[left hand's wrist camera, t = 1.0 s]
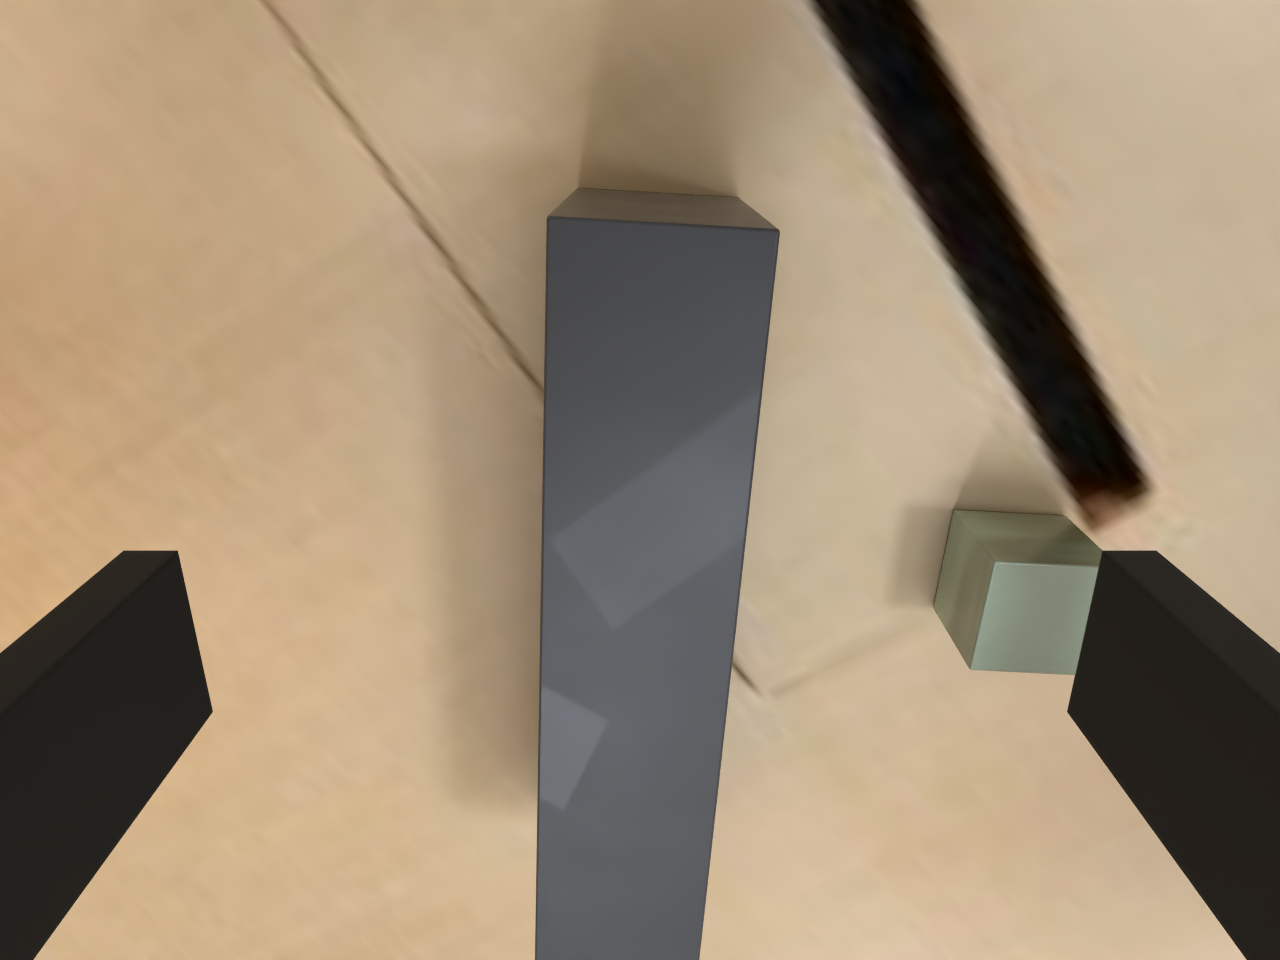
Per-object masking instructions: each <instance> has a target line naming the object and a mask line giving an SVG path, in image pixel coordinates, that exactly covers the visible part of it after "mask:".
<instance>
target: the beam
mask: <svg viewBox="0 0 1280 960" xmlns="http://www.w3.org/2000/svg"><path fill="white" fill-rule="evenodd" d="M779 235H780V231H779V230H778V229H777V228H776V227H775V226H773V225H772V224H771V223H770V222H768V221H767V220H766V219H765V218H763V217H762V216H761V215H760V214H758V213H757V212H756V211H755V210H753V209H752V208H751V207H750V206H748V205H747V204H746V203H745V202H743V201H742V200H741V199H739V198H738V197H725V196H708V195H691V194H674V193H657V192H640V191H623V190H606V189H589V188H578V189H576V190H575V191H574V192H573V193H572V194H571V195H570V196H569V197H568V198H567V199H566V200H565V201H564V202H563V203H562V204H561V205H560V206H558V207H557V208H556V209H555V210H554V211H553V212H552V213H551V214H550V215H549V216H548V217H547V237H546V301H545V364H544V427H543V490H542V553H541V617H540V680H539V743H538V806H537V869H536V932H535V960H699V957H700V948H701V939H702V930H703V921H704V912H705V903H706V894H707V885H708V876H709V866H710V857H711V848H712V839H713V830H714V821H715V812H716V803H717V794H718V785H719V776H720V767H721V758H722V749H723V740H724V731H725V722H726V713H727V704H728V695H729V686H730V677H731V668H732V659H733V650H734V641H735V632H736V623H737V614H738V605H739V596H740V587H741V578H742V569H743V560H744V551H745V542H746V533H747V524H748V515H749V506H750V497H751V488H752V479H753V470H754V461H755V452H756V443H757V434H758V424H759V415H760V406H761V397H762V388H763V379H764V370H765V361H766V352H767V343H768V334H769V325H770V316H771V307H772V298H773V289H774V280H775V271H776V262H777V253H778V244H779Z"/></svg>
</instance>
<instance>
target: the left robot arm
mask: <svg viewBox="0 0 1280 960" xmlns="http://www.w3.org/2000/svg"><path fill="white" fill-rule="evenodd" d="M212 712H213V711H212V706H211V701H210V697H209V692H208V688H207V683H206V678H205V674H204V669H203V665H202V660H201V656H200V651H199V646H198V642H197V637H196V633H195V628H194V623H193V619H192V614H191V610H190V605H189V600H188V596H187V591H186V587H185V582H184V577H183V573H182V568H181V564H180V559H179V555H178V551H123V552H122V553H120V554H119V555H118V556H117V557H116V558H114V559H113V560H112V561H111V562H110V563H108V564H107V565H106V566H105V567H104V568H102V569H101V570H100V571H99V572H98V573H96V574H95V575H94V576H93V577H92V578H90V579H89V580H88V581H87V582H86V583H84V584H83V585H82V586H81V587H79V588H78V589H77V590H76V591H75V592H73V593H72V594H71V595H70V596H69V597H67V598H66V599H65V600H64V601H63V602H61V603H60V604H59V605H58V606H57V607H55V608H54V609H53V610H52V611H51V612H49V613H48V614H47V615H46V616H45V617H43V618H42V619H41V620H40V621H39V622H37V623H36V624H35V625H34V626H33V627H31V628H30V629H29V630H28V631H27V632H25V633H24V634H23V635H22V636H21V637H19V638H18V639H17V640H16V641H15V642H13V643H12V644H11V645H10V646H9V647H7V648H6V649H5V650H4V651H2V652H1V653H0V960H33V959H34V958H35V957H36V955H37V954H38V952H39V951H40V950H41V948H42V947H43V946H44V944H45V943H46V941H47V940H48V939H49V937H50V936H51V935H52V933H53V932H54V930H55V929H56V928H57V926H58V925H59V923H60V922H61V921H62V919H63V918H64V917H65V915H66V914H67V912H68V911H69V910H70V908H71V907H72V906H73V904H74V903H75V901H76V900H77V899H78V897H79V896H80V894H81V893H82V892H83V890H84V889H85V888H86V886H87V885H88V883H89V882H90V881H91V879H92V878H93V877H94V875H95V874H96V872H97V871H98V870H99V868H100V867H101V865H102V864H103V863H104V861H105V860H106V859H107V857H108V856H109V854H110V853H111V852H112V850H113V849H114V848H115V846H116V845H117V843H118V842H119V841H120V839H121V838H122V836H123V835H124V834H125V832H126V831H127V830H128V828H129V827H130V825H131V824H132V823H133V821H134V820H135V819H136V817H137V816H138V814H139V813H140V812H141V810H142V809H143V807H144V806H145V805H146V803H147V802H148V801H149V799H150V798H151V796H152V795H153V794H154V792H155V791H156V790H157V788H158V787H159V785H160V784H161V783H162V781H163V780H164V778H165V777H166V776H167V774H168V773H169V772H170V770H171V769H172V767H173V766H174V765H175V763H176V762H177V760H178V759H179V758H180V756H181V755H182V754H183V752H184V751H185V749H186V748H187V747H188V745H189V744H190V743H191V741H192V740H193V738H194V737H195V736H196V734H197V733H198V731H199V730H200V729H201V727H202V726H203V725H204V723H205V722H206V720H207V719H208V718H209V716H210V715H211V714H212ZM1067 712H1068V714H1069V715H1070V716H1071V718H1072V719H1073V720H1074V722H1075V723H1076V725H1077V726H1078V727H1079V729H1080V730H1081V731H1082V733H1083V734H1084V736H1085V737H1086V738H1087V740H1088V741H1089V743H1090V744H1091V745H1092V747H1093V748H1094V749H1095V751H1096V752H1097V754H1098V755H1099V756H1100V758H1101V759H1102V760H1103V762H1104V763H1105V765H1106V766H1107V767H1108V769H1109V770H1110V772H1111V773H1112V774H1113V776H1114V777H1115V778H1116V780H1117V781H1118V783H1119V784H1120V785H1121V787H1122V788H1123V790H1124V791H1125V792H1126V794H1127V795H1128V796H1129V798H1130V799H1131V801H1132V802H1133V803H1134V805H1135V806H1136V807H1137V809H1138V810H1139V812H1140V813H1141V814H1142V816H1143V817H1144V819H1145V820H1146V821H1147V823H1148V824H1149V825H1150V827H1151V828H1152V830H1153V831H1154V832H1155V834H1156V835H1157V836H1158V838H1159V839H1160V841H1161V842H1162V843H1163V845H1164V846H1165V848H1166V849H1167V850H1168V852H1169V853H1170V854H1171V856H1172V857H1173V859H1174V860H1175V861H1176V863H1177V864H1178V865H1179V867H1180V868H1181V870H1182V871H1183V872H1184V874H1185V875H1186V877H1187V878H1188V879H1189V881H1190V882H1191V883H1192V885H1193V886H1194V888H1195V889H1196V890H1197V892H1198V893H1199V894H1200V896H1201V897H1202V899H1203V900H1204V901H1205V903H1206V904H1207V906H1208V907H1209V908H1210V910H1211V911H1212V912H1213V914H1214V915H1215V917H1216V918H1217V919H1218V921H1219V922H1220V923H1221V925H1222V926H1223V928H1224V929H1225V930H1226V932H1227V933H1228V935H1229V936H1230V937H1231V939H1232V940H1233V941H1234V943H1235V944H1236V946H1237V947H1238V948H1239V950H1240V951H1241V953H1242V954H1243V955H1244V957H1245V958H1246V959H1247V960H1280V653H1279V652H1278V651H1276V650H1275V649H1274V648H1273V647H1271V646H1270V645H1269V644H1268V643H1267V642H1265V641H1264V640H1263V639H1262V638H1261V637H1259V636H1258V635H1257V634H1256V633H1255V632H1253V631H1252V630H1251V629H1250V628H1249V627H1247V626H1246V625H1245V624H1244V623H1243V622H1241V621H1240V620H1239V619H1238V618H1237V617H1235V616H1234V615H1233V614H1232V613H1231V612H1229V611H1228V610H1227V609H1226V608H1225V607H1223V606H1222V605H1221V604H1220V603H1219V602H1217V601H1216V600H1215V599H1214V598H1213V597H1211V596H1210V595H1209V594H1208V593H1207V592H1205V591H1204V590H1203V589H1202V588H1201V587H1199V586H1198V585H1197V584H1196V583H1194V582H1193V581H1192V580H1191V579H1190V578H1188V577H1187V576H1186V575H1185V574H1184V573H1182V572H1181V571H1180V570H1179V569H1178V568H1176V567H1175V566H1174V565H1173V564H1172V563H1170V562H1169V561H1168V560H1167V559H1166V558H1164V557H1163V556H1162V555H1161V554H1160V553H1158V552H1157V551H1102V555H1101V559H1100V564H1099V568H1098V573H1097V577H1096V582H1095V587H1094V591H1093V596H1092V600H1091V605H1090V610H1089V614H1088V619H1087V623H1086V628H1085V633H1084V637H1083V642H1082V646H1081V651H1080V656H1079V660H1078V665H1077V669H1076V674H1075V678H1074V683H1073V688H1072V692H1071V697H1070V701H1069V706H1068V711H1067Z"/></svg>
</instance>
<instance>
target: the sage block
mask: <svg viewBox="0 0 1280 960" xmlns="http://www.w3.org/2000/svg"><path fill="white" fill-rule="evenodd" d="M1102 551H1103V550H1101V549H1100V548H1099V547H1098V546H1097V545H1096V544H1095V543H1094V542H1093V541H1092V540H1091V539H1090V538H1089V537H1088V536H1086V535H1085V534H1084V533H1083V532H1082V531H1081V530H1080V529H1079V528H1078V527H1077V526H1076V525H1075V524H1074V523H1073V522H1071V521H1070V520H1069V519H1068V518H1067V517H1066V516H1059V515H1041V514H1022V513H1004V512H985V511H966V510H954V511H953V515H952V520H951V525H950V530H949V535H948V540H947V544H946V549H945V554H944V559H943V564H942V569H941V574H940V579H939V584H938V588H937V593H936V598H935V603H934V610H935V612H936V613H937V615H938V617H939V618H940V620H941V622H942V623H943V625H944V627H945V628H946V630H947V632H948V634H949V635H950V637H951V639H952V640H953V642H954V644H955V645H956V647H957V649H958V650H959V652H960V654H961V655H962V657H963V659H964V660H965V662H966V664H967V666H968V667H969V669H971V670H986V671H1006V672H1025V673H1045V674H1065V675H1075V674H1076V669H1077V665H1078V660H1079V656H1080V651H1081V646H1082V642H1083V637H1084V633H1085V628H1086V623H1087V619H1088V614H1089V610H1090V605H1091V600H1092V596H1093V591H1094V587H1095V582H1096V577H1097V573H1098V568H1099V564H1100V559H1101V555H1102Z"/></svg>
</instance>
